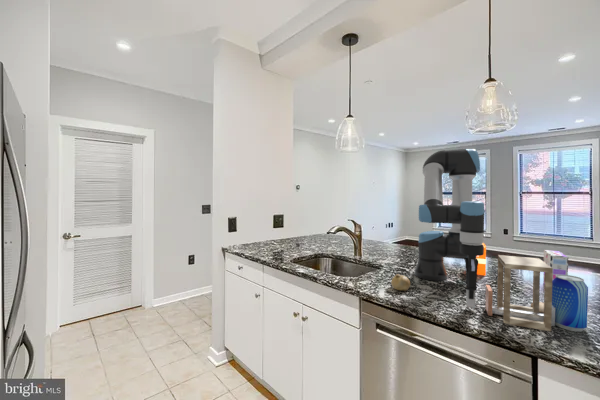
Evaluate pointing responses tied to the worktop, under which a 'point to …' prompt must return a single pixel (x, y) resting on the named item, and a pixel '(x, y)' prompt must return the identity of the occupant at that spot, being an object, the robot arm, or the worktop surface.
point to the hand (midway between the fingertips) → (470, 306)
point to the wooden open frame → (536, 267)
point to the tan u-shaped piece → (513, 312)
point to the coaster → (540, 307)
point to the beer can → (570, 302)
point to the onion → (400, 282)
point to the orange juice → (482, 263)
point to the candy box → (556, 263)
